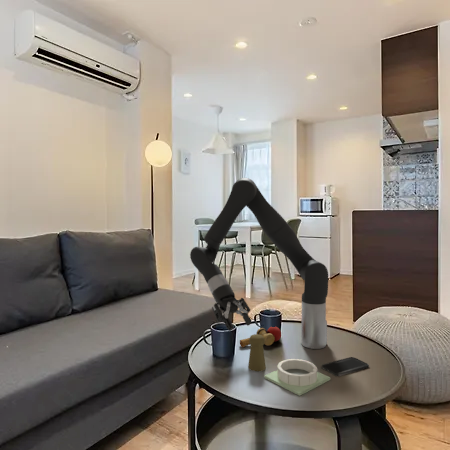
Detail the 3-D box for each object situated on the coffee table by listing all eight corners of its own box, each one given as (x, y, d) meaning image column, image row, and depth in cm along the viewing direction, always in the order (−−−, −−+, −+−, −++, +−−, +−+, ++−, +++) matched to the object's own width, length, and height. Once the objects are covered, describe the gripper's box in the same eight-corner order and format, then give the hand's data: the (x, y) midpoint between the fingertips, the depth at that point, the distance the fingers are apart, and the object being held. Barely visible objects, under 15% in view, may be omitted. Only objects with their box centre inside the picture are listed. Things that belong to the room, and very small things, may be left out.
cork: (267, 371, 117) (267, 338, 117) (249, 371, 117) (249, 339, 116) (264, 363, 123) (263, 332, 123) (246, 363, 123) (246, 332, 122)
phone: (370, 365, 119) (337, 374, 113) (370, 368, 119) (337, 377, 113) (352, 356, 126) (320, 364, 120) (352, 359, 126) (319, 368, 120)
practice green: (295, 364, 122) (295, 353, 121) (330, 379, 111) (330, 367, 111) (264, 378, 112) (264, 366, 112) (299, 395, 101) (299, 382, 101)
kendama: (247, 355, 134) (286, 340, 141) (244, 338, 134) (283, 324, 141) (239, 351, 141) (276, 337, 148) (235, 335, 141) (273, 322, 149)
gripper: (209, 286, 127) (230, 325, 119) (239, 281, 136) (260, 317, 128) (201, 298, 132) (220, 336, 123) (230, 292, 141) (250, 328, 132)
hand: (240, 326), depth 126 cm, fingers open, 8 cm apart
